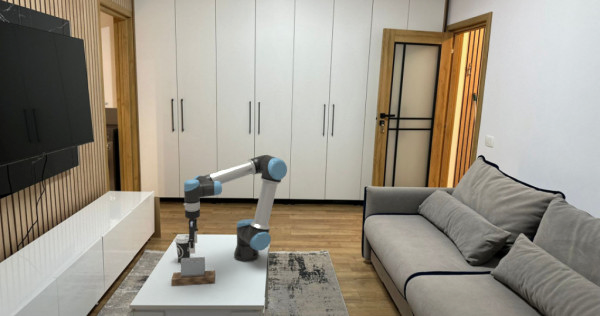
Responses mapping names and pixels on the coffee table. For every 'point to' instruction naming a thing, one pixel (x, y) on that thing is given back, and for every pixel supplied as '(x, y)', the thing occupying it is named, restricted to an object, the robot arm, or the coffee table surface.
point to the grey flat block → (193, 267)
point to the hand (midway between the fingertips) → (193, 248)
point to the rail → (193, 279)
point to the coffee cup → (182, 246)
